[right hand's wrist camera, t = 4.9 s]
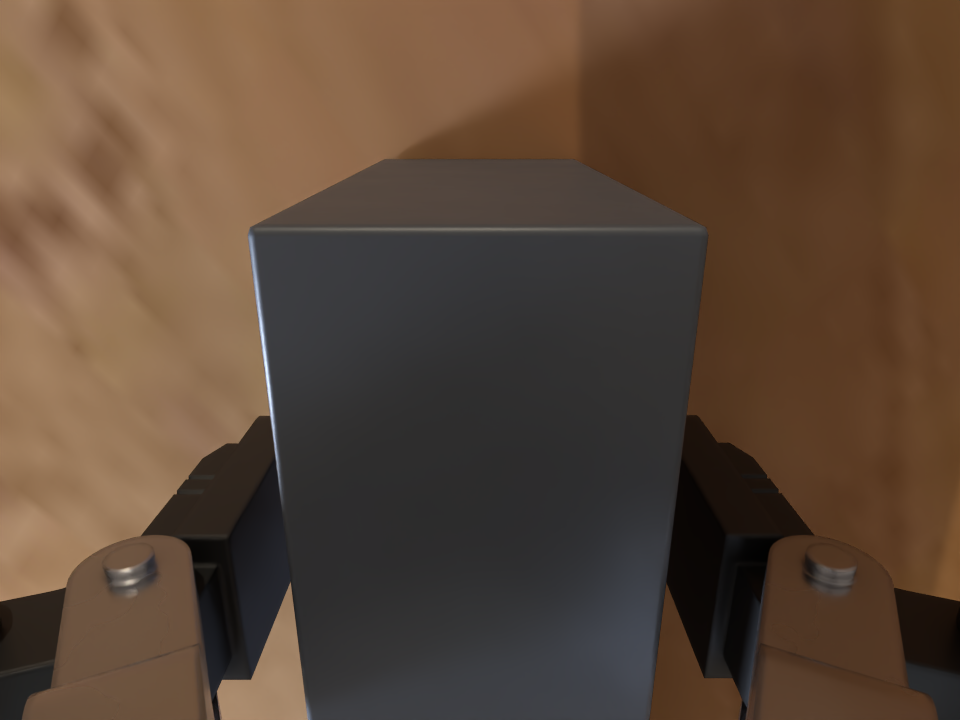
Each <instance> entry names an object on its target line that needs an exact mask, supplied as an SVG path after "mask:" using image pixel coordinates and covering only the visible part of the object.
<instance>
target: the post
mask: <svg viewBox="0 0 960 720" xmlns="http://www.w3.org/2000/svg"><path fill="white" fill-rule="evenodd" d="M248 240H249V248H250V256H251V264H252V273H253V281H254V289H255V297H256V305H257V313H258V321H259V329H260V337H261V345H262V353H263V361H264V369H265V377H266V385H267V394H268V402H269V410H270V418H271V426H272V434H273V442H274V450H275V458H276V466H277V474H278V482H279V490H280V498H281V506H282V515H283V523H284V531H285V539H286V547H287V555H288V563H289V571H290V579H291V587H292V595H293V603H294V611H295V619H296V627H297V636H298V644H299V652H300V660H301V668H302V676H303V684H304V692H305V700H306V708H307V716H308V720H649V719H650V711H651V703H652V694H653V686H654V678H655V670H656V661H657V653H658V645H659V637H660V629H661V620H662V612H663V604H664V596H665V588H666V579H667V571H668V563H669V555H670V547H671V538H672V530H673V522H674V514H675V505H676V497H677V489H678V481H679V473H680V464H681V456H682V448H683V440H684V432H685V423H686V415H687V407H688V399H689V390H690V382H691V374H692V366H693V358H694V349H695V341H696V333H697V325H698V317H699V308H700V300H701V292H702V284H703V275H704V267H705V259H706V251H707V243H708V232H707V229H706V227H704V226H703V225H701V224H699V223H697V222H695V221H693V220H691V219H689V218H687V217H685V216H683V215H681V214H679V213H677V212H675V211H673V210H672V209H670V208H668V207H666V206H664V205H662V204H660V203H658V202H656V201H654V200H652V199H650V198H648V197H646V196H644V195H643V194H641V193H639V192H637V191H635V190H633V189H631V188H629V187H627V186H625V185H623V184H621V183H619V182H617V181H615V180H613V179H612V178H610V177H608V176H606V175H604V174H602V173H600V172H598V171H596V170H594V169H592V168H590V167H588V166H586V165H584V164H583V163H581V162H579V161H577V160H574V159H385V160H382V161H380V162H378V163H376V164H374V165H372V166H370V167H368V168H366V169H364V170H362V171H360V172H359V173H357V174H355V175H353V176H351V177H349V178H347V179H345V180H343V181H341V182H339V183H337V184H335V185H333V186H331V187H329V188H327V189H325V190H323V191H321V192H319V193H317V194H315V195H313V196H311V197H309V198H307V199H305V200H303V201H301V202H299V203H297V204H295V205H293V206H291V207H289V208H287V209H285V210H283V211H281V212H280V213H278V214H276V215H274V216H272V217H270V218H268V219H266V220H264V221H262V222H260V223H258V224H256V225H254V226H252V227H250V230H249V233H248Z"/></svg>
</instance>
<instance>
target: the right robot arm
mask: <svg viewBox="0 0 960 720" xmlns="http://www.w3.org/2000/svg"><path fill="white" fill-rule="evenodd" d="M290 581H291V579H290V571H289V563H288V555H287V547H286V539H285V531H284V523H283V515H282V506H281V498H280V490H279V482H278V474H277V466H276V458H275V450H274V442H273V434H272V426H271V418H270V416H259V417H258V418H257V419H256V420H255V421H254V423H253V424H252V426H251V427H250V428H249V430H248V431H247V432H246V434H245V435H244V437H243V438H242V439H241V441H240V442H239V443H238V444H225V445H224V446H222V447H221V448H219V449H217V450H216V451H214V452H212V453H211V454H209V455H208V456H206V457H204V458H203V459H202V460H201V461H200V463H199V464H198V465H197V466H196V468H195V469H194V470H193V471H192V473H191V474H190V475H189V479H188V480H185V481H184V483H183V484H182V485H181V486H180V488H179V489H178V490H177V494H174V495H173V496H172V498H171V499H170V500H169V501H168V503H167V504H166V505H165V506H164V508H163V509H162V510H161V511H160V513H159V514H158V515H157V516H156V518H155V519H154V520H153V521H152V523H151V524H150V525H149V526H148V528H147V529H146V530H145V531H144V533H143V534H142V535H141V536H140V537H134V538H130V539H126V540H123V541H120V542H117V543H114V544H111V545H109V546H107V547H105V548H103V549H101V550H99V551H97V552H95V553H94V554H92V555H91V556H89V557H88V558H86V559H85V560H84V561H83V562H81V563H80V564H79V565H78V566H77V567H76V568H75V570H74V571H73V572H72V573H71V575H70V577H69V579H68V582H67V586H66V588H63V589H59V590H55V591H51V592H46V593H41V594H36V595H31V596H26V597H21V598H16V599H11V600H6V601H2V602H0V720H222V718H221V711H220V706H219V701H218V695H217V690H218V687H219V685H220V683H221V681H222V680H251V678H252V676H253V673H254V671H255V668H256V666H257V663H258V661H259V658H260V656H261V653H262V651H263V648H264V646H265V643H266V641H267V638H268V636H269V633H270V631H271V628H272V626H273V623H274V621H275V619H276V616H277V614H278V611H279V609H280V606H281V604H282V601H283V599H284V596H285V594H286V591H287V589H288V586H289V584H290ZM666 582H667V585H668V588H669V590H670V593H671V595H672V598H673V600H674V603H675V605H676V608H677V610H678V613H679V615H680V618H681V620H682V623H683V625H684V628H685V630H686V633H687V636H688V638H689V641H690V643H691V646H692V648H693V651H694V653H695V656H696V658H697V661H698V663H699V666H700V668H701V671H702V673H703V676H704V678H733V680H734V682H735V684H736V686H737V689H738V691H739V693H740V695H741V697H742V701H741V706H740V711H739V718H738V720H960V601H955V600H950V599H945V598H940V597H935V596H930V595H925V594H920V593H916V592H911V591H906V590H901V589H897V588H894V586H893V582H892V579H891V577H890V575H889V573H888V572H887V571H886V570H885V568H884V567H883V566H882V565H881V564H880V563H879V562H877V561H876V560H875V559H874V558H872V557H871V556H869V555H868V554H866V553H865V552H863V551H861V550H859V549H857V548H855V547H853V546H851V545H849V544H846V543H843V542H840V541H837V540H834V539H830V538H826V537H820V536H815V535H814V534H813V533H812V532H811V530H810V529H809V528H808V527H807V525H806V524H805V523H804V522H803V520H802V519H801V518H800V516H799V515H798V514H797V513H796V511H795V510H794V509H793V508H792V506H791V505H790V504H789V503H788V501H787V500H786V499H785V497H784V496H783V495H782V494H781V493H778V489H777V487H776V486H775V485H774V483H773V482H772V481H771V480H770V479H767V475H766V473H765V472H764V471H763V470H762V468H761V467H760V466H759V464H758V463H757V462H756V461H755V459H754V458H753V457H751V456H750V455H748V454H746V453H745V452H743V451H742V450H740V449H738V448H737V447H735V446H734V445H732V444H730V443H717V441H716V440H715V439H714V437H713V436H712V434H711V433H710V432H709V430H708V429H707V428H706V426H705V425H704V423H703V422H702V421H701V419H700V418H699V417H698V416H697V415H686V423H685V432H684V440H683V448H682V456H681V464H680V473H679V481H678V489H677V497H676V505H675V514H674V522H673V530H672V538H671V547H670V555H669V563H668V571H667V579H666Z"/></svg>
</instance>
